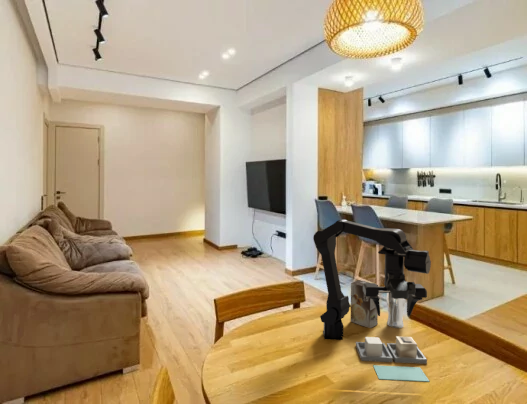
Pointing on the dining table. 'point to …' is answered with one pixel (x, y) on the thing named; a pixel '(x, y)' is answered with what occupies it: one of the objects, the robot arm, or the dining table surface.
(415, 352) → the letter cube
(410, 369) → the teal mat
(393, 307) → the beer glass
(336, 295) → the robot arm
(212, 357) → the dining table surface
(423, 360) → the tray
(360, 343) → the tray
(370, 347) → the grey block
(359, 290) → the coffee box
